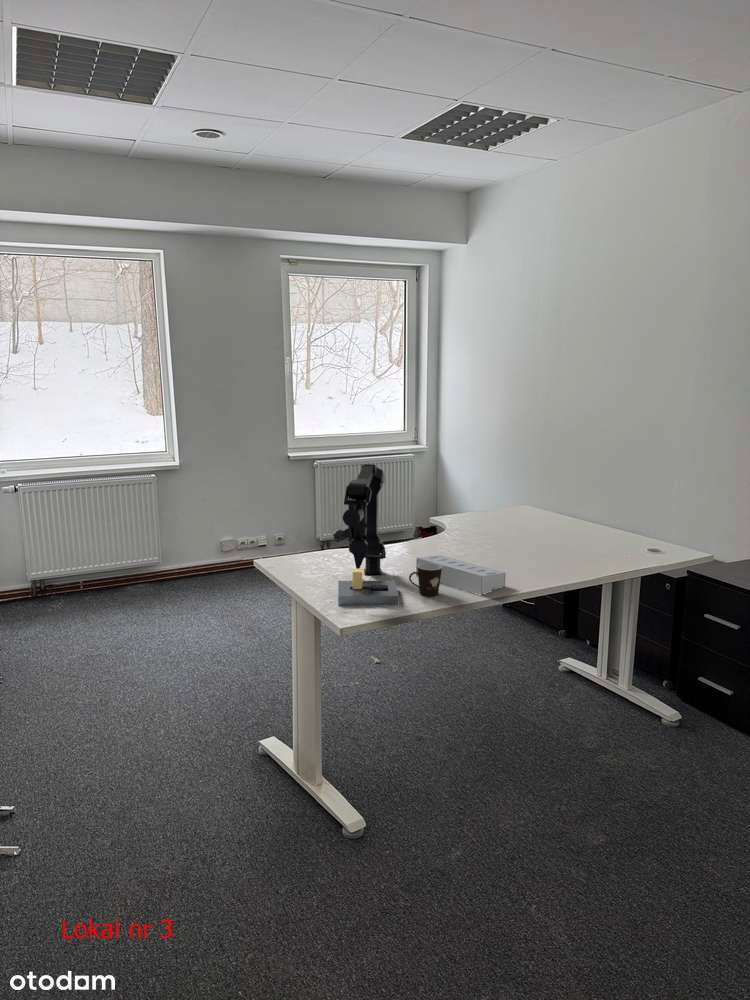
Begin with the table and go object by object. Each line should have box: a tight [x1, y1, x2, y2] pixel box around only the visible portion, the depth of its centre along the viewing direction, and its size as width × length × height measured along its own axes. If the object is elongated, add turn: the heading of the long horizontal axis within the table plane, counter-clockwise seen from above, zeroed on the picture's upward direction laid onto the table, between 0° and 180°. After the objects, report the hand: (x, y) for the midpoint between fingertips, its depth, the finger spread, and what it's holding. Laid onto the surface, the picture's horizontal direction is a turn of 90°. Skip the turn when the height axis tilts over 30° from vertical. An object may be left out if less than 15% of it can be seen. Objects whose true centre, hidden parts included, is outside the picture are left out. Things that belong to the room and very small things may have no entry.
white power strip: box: [415, 555, 506, 596], centre depth 256 cm, size 30×14×8 cm, turn 45°
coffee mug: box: [408, 563, 442, 598], centre depth 242 cm, size 12×9×10 cm
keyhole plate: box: [337, 580, 400, 606], centre depth 238 cm, size 16×20×3 cm
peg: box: [352, 568, 363, 590], centre depth 238 cm, size 4×4×10 cm
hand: (357, 564), depth 236 cm, fingers open, 9 cm apart
